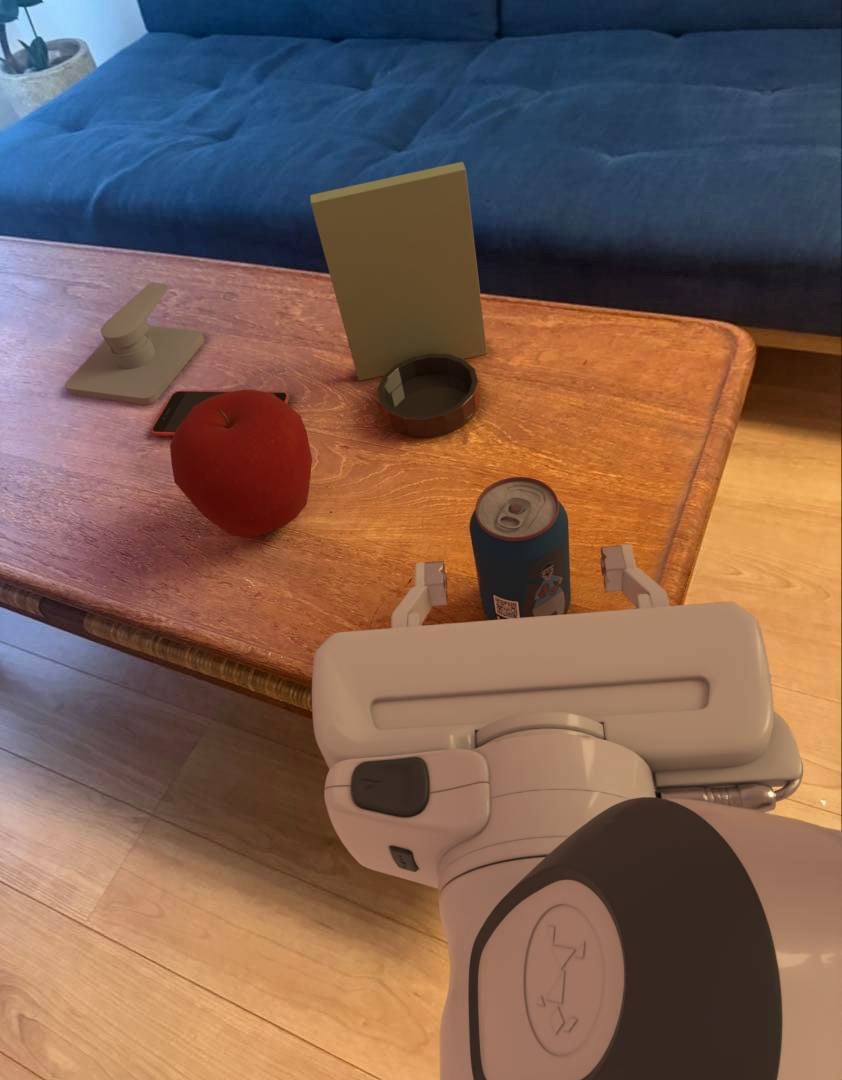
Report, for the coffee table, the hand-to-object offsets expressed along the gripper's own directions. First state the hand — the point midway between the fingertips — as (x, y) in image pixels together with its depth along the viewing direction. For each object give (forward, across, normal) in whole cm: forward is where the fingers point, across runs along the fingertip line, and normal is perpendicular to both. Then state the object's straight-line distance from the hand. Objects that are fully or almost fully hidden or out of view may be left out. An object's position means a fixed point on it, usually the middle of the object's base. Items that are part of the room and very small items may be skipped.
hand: (522, 561), depth 42 cm
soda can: (+12, 0, +20) cm, 24 cm away
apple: (+25, +23, +20) cm, 40 cm away
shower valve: (+53, +42, +20) cm, 70 cm away
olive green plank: (+45, +8, +20) cm, 50 cm away
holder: (+38, +8, +20) cm, 44 cm away
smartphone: (+40, +30, +20) cm, 54 cm away
